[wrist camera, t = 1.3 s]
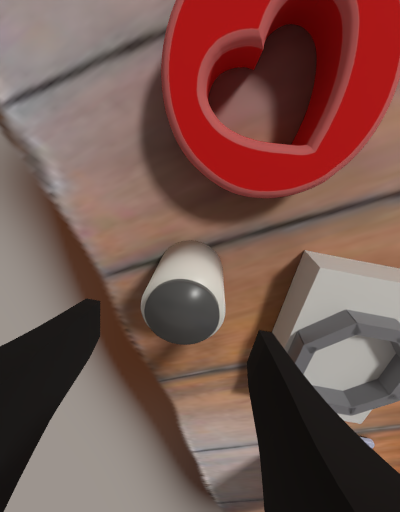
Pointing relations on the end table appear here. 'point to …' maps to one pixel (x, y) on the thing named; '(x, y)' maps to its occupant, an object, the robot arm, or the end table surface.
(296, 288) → the plate with octagonal ring
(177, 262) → the lens
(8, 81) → the end table surface
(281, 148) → the decorative ornament
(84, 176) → the end table surface
